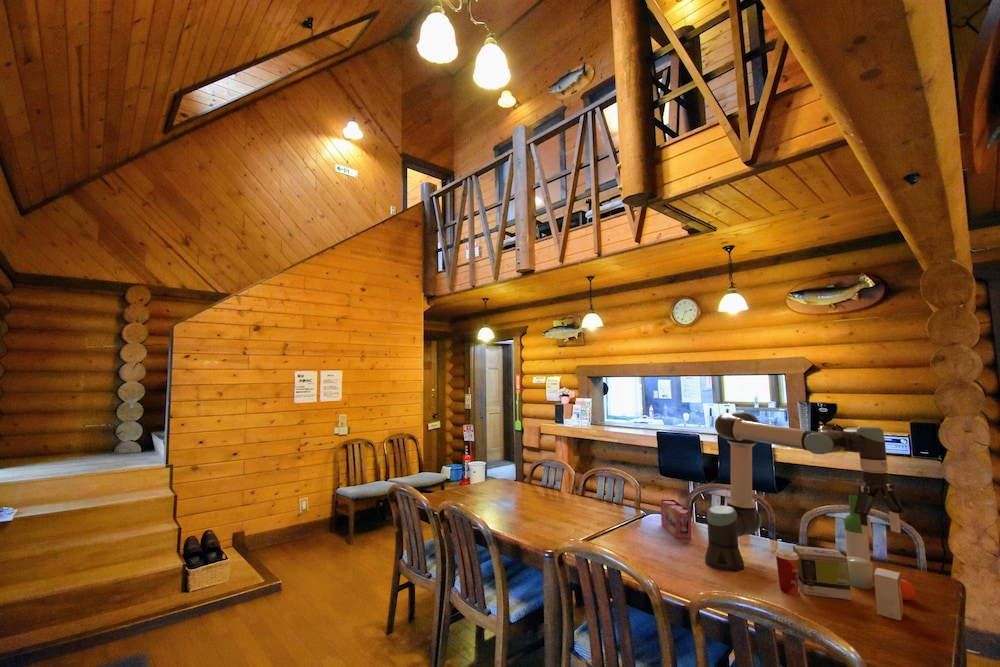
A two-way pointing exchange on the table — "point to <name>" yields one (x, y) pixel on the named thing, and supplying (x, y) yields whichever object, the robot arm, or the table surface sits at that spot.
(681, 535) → the gum box
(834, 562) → the tea box
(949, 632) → the table surface
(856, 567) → the sage mug
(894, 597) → the small box
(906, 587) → the strawberry
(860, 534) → the wine bottle
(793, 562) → the paper cup
